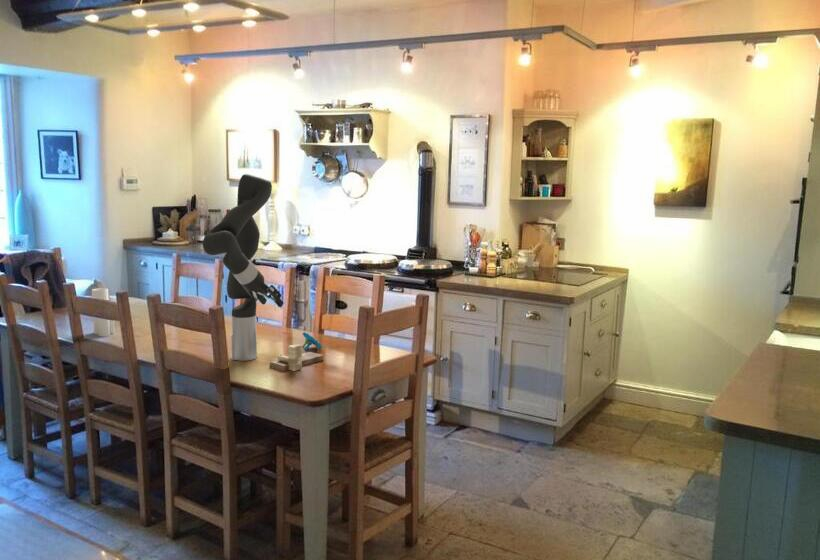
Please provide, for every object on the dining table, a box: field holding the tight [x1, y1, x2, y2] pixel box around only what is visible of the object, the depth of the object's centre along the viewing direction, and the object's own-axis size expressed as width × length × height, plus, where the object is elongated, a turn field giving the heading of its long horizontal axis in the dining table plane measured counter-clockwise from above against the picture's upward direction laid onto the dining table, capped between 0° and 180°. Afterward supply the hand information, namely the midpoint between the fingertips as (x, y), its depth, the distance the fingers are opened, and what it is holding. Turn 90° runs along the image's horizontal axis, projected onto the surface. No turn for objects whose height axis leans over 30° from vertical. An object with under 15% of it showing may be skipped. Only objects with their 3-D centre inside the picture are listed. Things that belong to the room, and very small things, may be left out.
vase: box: [91, 287, 115, 338], centre depth 296 cm, size 11×7×20 cm, turn 46°
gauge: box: [277, 343, 303, 372], centre depth 248 cm, size 4×10×9 cm, turn 51°
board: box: [269, 351, 324, 372], centre depth 255 cm, size 20×8×2 cm, turn 141°
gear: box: [302, 331, 323, 351], centre depth 276 cm, size 11×6×10 cm
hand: (273, 303), depth 235 cm, fingers open, 8 cm apart
